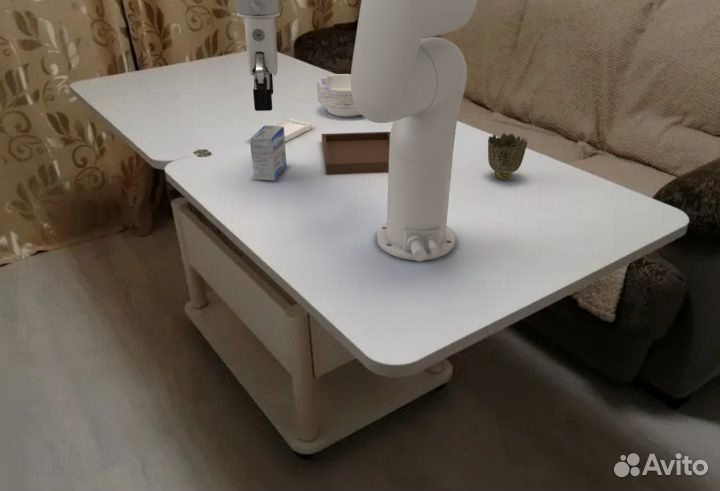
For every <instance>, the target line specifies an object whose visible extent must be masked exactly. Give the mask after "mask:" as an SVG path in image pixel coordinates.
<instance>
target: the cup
mask: <svg viewBox="0 0 720 491" xmlns="http://www.w3.org/2000/svg"><path fill="white" fill-rule="evenodd" d="M528 143H529V142H528V141H527V139H526V138H525V137H523V138H521V136H520V135H519V136H517V137H516V135H515V134H513V133H509V134H506V133H505V132H503V133H501V135H500V136H499V137H498V136H497V135H496V134H493V135H492V136H490V135H489V136H488V139H487V161H488V164H489V167H490V168H491V169H492V170H493V177H494V178H495V179H497V180H498V181H509V180H512V177H513V173H515V172H516V171H518V170H519V169H520V167H521V166H522V163H523V160H524V157H525V154H526V150H527V146H528Z"/></svg>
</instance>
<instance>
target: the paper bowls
mask: <svg viewBox="0 0 720 491" xmlns="http://www.w3.org/2000/svg"><path fill="white" fill-rule="evenodd" d="M316 87H317V88H316V91H317V92H316V93H317V94H316V95H317V101H318V102H319V104H321V105H323V106H324V107H325V108H326V110H327V112H328V113H330V114H331V115H334V116H338V117H343V118H345V117H346V118H349V117H350V118H351V117H357V116H362V115H361V113H360V112H359V111H358V109H357V107H356V106H355V103H354V100H353V97H352V92H351V73H350V74H349V73H338V74H337V73H336V74H329V75H326V76H322V77H320V78H319V79H318V80H317V83H316Z"/></svg>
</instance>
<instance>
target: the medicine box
mask: <svg viewBox="0 0 720 491" xmlns="http://www.w3.org/2000/svg"><path fill="white" fill-rule="evenodd" d="M256 132H257V133H256ZM256 132H255V133H256V134H255V135H254V136H253V137H252V138H251V139H250V142H249V145H250V146H249V147H250V154H251V164H252V172H253V173H252V174H253V179H254V180H259V181H272V182H275V181H276V180H277V179H278V178H279V176H280V175H281V174H282V172H283V170H285V168H286V167H287V152H286V142H285V136H284V127H281V126H271V125H264V126H262V127H261V128H260V129H259V130H258V131H256Z"/></svg>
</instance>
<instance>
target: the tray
mask: <svg viewBox="0 0 720 491" xmlns="http://www.w3.org/2000/svg"><path fill="white" fill-rule="evenodd" d="M390 133H391V131H370V132H369V131H367V132H339V133H321V147H322V153H323V160H324V168H325V174H326V175H341V174H342V175H343V174H344V175H345V174H368V173H371V174H372V173H389V145H390Z"/></svg>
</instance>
